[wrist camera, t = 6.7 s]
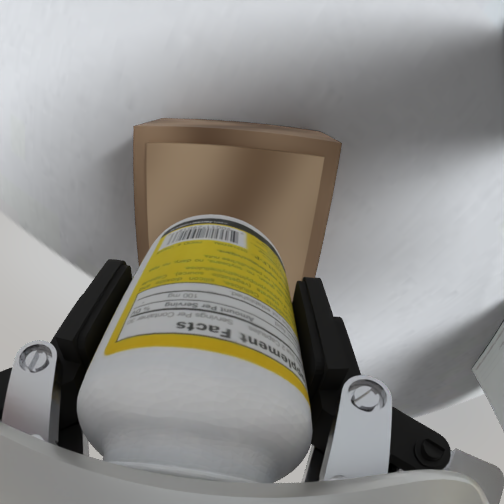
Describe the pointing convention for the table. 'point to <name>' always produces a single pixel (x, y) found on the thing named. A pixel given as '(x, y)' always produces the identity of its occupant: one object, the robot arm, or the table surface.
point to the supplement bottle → (202, 361)
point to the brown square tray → (237, 182)
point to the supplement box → (493, 373)
